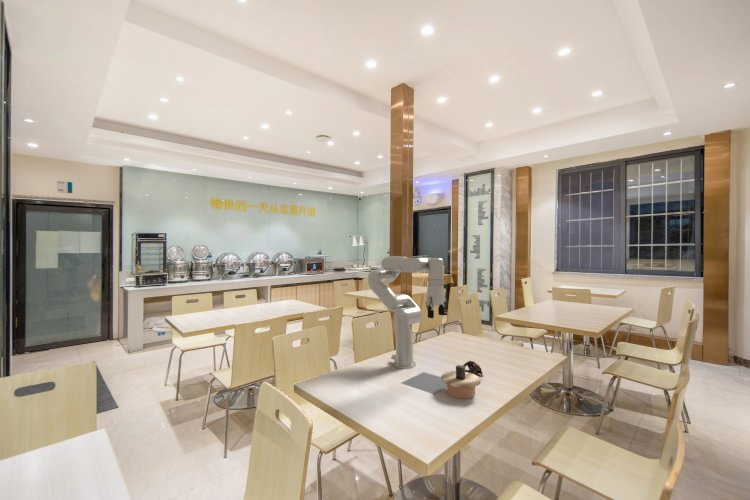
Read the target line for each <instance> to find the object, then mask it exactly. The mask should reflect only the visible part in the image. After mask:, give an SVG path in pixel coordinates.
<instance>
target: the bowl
mask: <svg viewBox="0 0 750 500" xmlns="http://www.w3.org/2000/svg"><path fill="white" fill-rule="evenodd" d="M446 393H447V394H448V395H449V396H451V397H454V398H457V399H471V398H473V397H475V395H476V386H475V387H470V388H461V387H454V386H450V385H448V384H447V388H446Z"/></svg>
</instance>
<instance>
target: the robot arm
mask: <svg viewBox="0 0 750 500" xmlns="http://www.w3.org/2000/svg"><path fill="white" fill-rule="evenodd" d="M381 267H382V268H381V269H380V268H379V269H378V268H377V269H374V270H371V271H370V272H369V273H368V274H367V283H368V286H369V288H370V291H372V293H374V294H375V295H376V296H377V298H379V300H380V301H381V303H382V304H383V305H384V306H385V307H386V309H387V310H388V311H390V312H392V313H393V312H394V313H393V323H394V327H395V328H394V329H395V330H394V331H395V354H391V357H390V358H391V360H394V361H393V363H392V365H393V367H394V368H396V369H405V370H408V369H413V368H415V367H416V366H417V363H416V361H415V360H414V334H413V329H412V328H411V325H414V324H417V323H419V322H421V321H422V319H423V312H422V309H421V308H420V307H419V306H418V305H417V303H416V302H415V301H414V300H413V299H412V298H411V296H409V295H407V294H405V293H394V292H393V290H392V289H391V288H390V287H389V286H388V285H386V284H388V283H389V284H390V283H393V282H394V281H395V280H396V279H397V278H398V276H399V275H400V274H402V272H403V273H426V272H427V273H428V275H427V277H428V278H427V279H428V281H427V282H428V285H427V289H426V301H425V307H426V310H427V318H428V319H434V318H435V317H434V316H435V315H434V314H435V311H434V308H435V307H436V306H438V307H437V309H438V310H437V311H438V315H439V316H445V307H446V306H445V305H446V302H447V298H446V297H445V289H444V287H445V286H444V279H445V278H444V259H443V258H440V257H423V256H422V257H407V256H405V255H404V256H399V255H392V256H390V255H389V256H385V257H384V258H383V259H382V261H381Z"/></svg>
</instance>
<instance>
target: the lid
mask: <svg viewBox="0 0 750 500" xmlns="http://www.w3.org/2000/svg"><path fill="white" fill-rule="evenodd" d="M465 370H466V367H465V366H463V365H456V366H455V370H454V371H447V372H444V373H442V375H441V376H440V377H441V380H442V381H443V382H444V383H446V384H448V385H450V386H454V387H461V388H470V387H475V388H476V387H478V386H479V385H481V382H482V381H481V380H482V379H481V378H480V377H479V375H477V374H476V375H475V374H472V373H468V372H465Z"/></svg>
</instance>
